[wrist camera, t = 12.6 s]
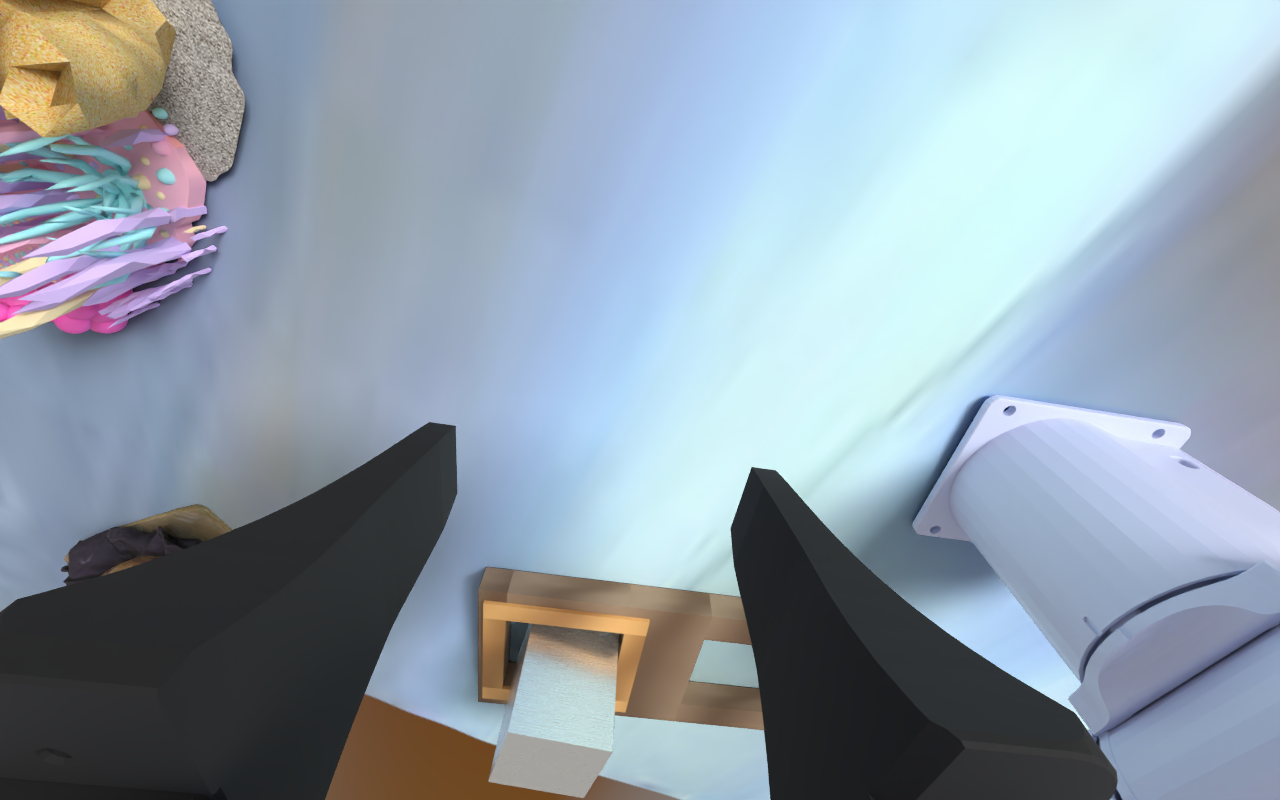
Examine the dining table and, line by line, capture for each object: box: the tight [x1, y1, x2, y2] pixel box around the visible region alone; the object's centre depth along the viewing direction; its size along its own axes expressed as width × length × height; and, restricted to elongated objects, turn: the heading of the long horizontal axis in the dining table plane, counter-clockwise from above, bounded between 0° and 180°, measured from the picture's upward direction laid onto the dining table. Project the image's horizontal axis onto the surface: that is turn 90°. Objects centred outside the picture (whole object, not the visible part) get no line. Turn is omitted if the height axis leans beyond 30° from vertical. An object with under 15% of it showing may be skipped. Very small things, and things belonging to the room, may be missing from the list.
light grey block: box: [488, 623, 619, 798], centre depth 27 cm, size 5×5×7 cm
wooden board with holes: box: [478, 567, 764, 730], centre depth 30 cm, size 20×10×2 cm, turn 81°
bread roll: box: [61, 504, 232, 586], centre depth 27 cm, size 11×9×4 cm
